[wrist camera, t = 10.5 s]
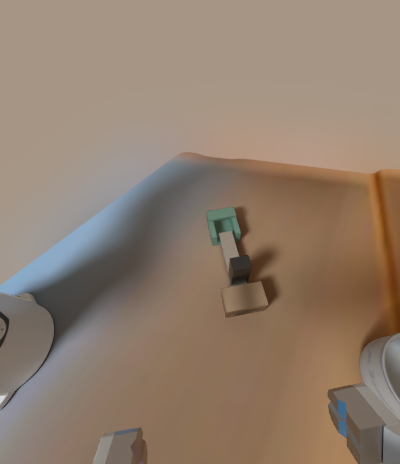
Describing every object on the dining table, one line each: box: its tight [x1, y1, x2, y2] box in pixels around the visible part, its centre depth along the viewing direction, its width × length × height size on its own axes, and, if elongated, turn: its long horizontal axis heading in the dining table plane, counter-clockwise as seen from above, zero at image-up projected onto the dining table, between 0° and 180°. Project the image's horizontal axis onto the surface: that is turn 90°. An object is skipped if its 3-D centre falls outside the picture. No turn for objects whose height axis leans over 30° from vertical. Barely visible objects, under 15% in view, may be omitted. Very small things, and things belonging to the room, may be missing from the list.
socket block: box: [221, 281, 268, 318], centre depth 38 cm, size 7×4×4 cm, turn 99°
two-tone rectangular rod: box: [219, 231, 252, 287], centre depth 40 cm, size 3×15×9 cm, turn 9°
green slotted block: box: [206, 207, 241, 246], centre depth 47 cm, size 6×7×4 cm
